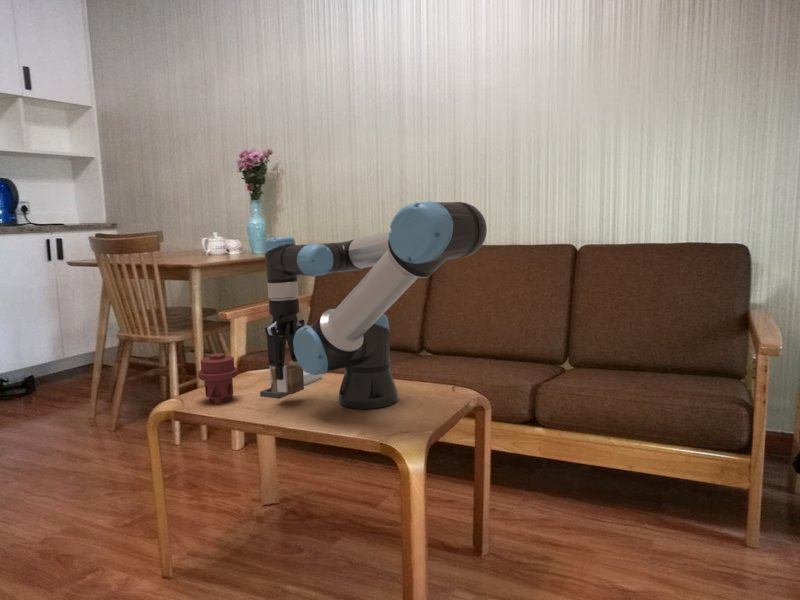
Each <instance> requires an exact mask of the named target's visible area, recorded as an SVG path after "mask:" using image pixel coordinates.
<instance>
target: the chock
mask: <svg viewBox="0 0 800 600" xmlns="http://www.w3.org/2000/svg"><path fill="white" fill-rule="evenodd" d="M284 366H286V368H287V383H288V392H278V390H277V380H276V373H275V368H273V369H272V379H273V392H278V393H287V394H288V395H294V394H296V393H298V392H300V391H303V390H305V386H304V378H303V369H302V368H301V367H300V366H291V365H290V364H284Z"/></svg>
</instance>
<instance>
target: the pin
mask: <svg viewBox="0 0 800 600" xmlns="http://www.w3.org/2000/svg"><path fill="white" fill-rule="evenodd" d="M279 362H280V361H279ZM273 368H275V367H272V366H270V365H269V377H270V379H269V380H270V388H271V392H273V379H272V369H273ZM275 393H278V392H275Z"/></svg>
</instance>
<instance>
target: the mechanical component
mask: <svg viewBox="0 0 800 600" xmlns="http://www.w3.org/2000/svg"><path fill="white" fill-rule="evenodd" d="M238 375H239V370H238V368H237V367H235V357H234V356H233V355H227V354H225V353H222V352H219V353H218V352H217V353H212V354H209V355H208V356H206V357H203V358H202V359H201V360H200V369H199V371H198V372H197V376H198V379H200V380H201V381H204V389H205V390H204V392H205V398H207V399H208V398H209V401H213V402H214V404H215V405H220V404H222V403H224V402H226V401H231V400H233V399H234V397H233V396H234V382H233V378H236V377H237V376H238Z"/></svg>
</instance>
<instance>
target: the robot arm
mask: <svg viewBox="0 0 800 600" xmlns="http://www.w3.org/2000/svg"><path fill="white" fill-rule="evenodd" d="M389 225H390V226H389V228H390V230H387V231H384V232H380V233H376V234H372V235H368V236H367V235H366V236H363V237H359V238H356V239H350V240H347V241H339V242H326V243H308V244H307V243H306V244H296V240H295V238H294V237H292V236H284V237H283V236H282V237H269V238H267V239H265V241H264V258H265V269H266V280H267V281H266V282H267V294H268V297H267V298H268V299H269V300H268V313H269V315H270V316H272V322H271V325H270V326H265V328H264V331H265V334H266V344H267V359H268V361H267V362H268V365H269V367H270V366H272V367H275V373H276V380H277V390H278V392H288V383H287V368H286V366H284V365H285V361H286V360H285V359H286V358H285V356H286V348H287V346H288V350H289V354H290V359H291V361H289V365H291V366H300V367H301V368H302V369H303V370H304V371H305V372H307V373H309V374H311V375H318V374H322V375H325V374H326V373H330V372H333V371H337V370H341V369H344V373H343V377H342V382H341V384H340V387H339V390H338V391H339V392H338V403H339V404H340V405H341V406H343V407H345V408H350V409H356V410H357V409H358V410H359V409H360V410H371V409H379V408H380V409H381V408H386V407H388V406H392V405H394V404H396V403H397V402H398V399H399V397H398V396H399V394H398V389H397V386H396V383H395V381H394V378H393V375H392V372H391V358H390V357H391V355H390V354H391V353H390V351H391V350H390V349H391V348H390V347H391V346H390V331H391V330H390V325H389V319H388V316H387V315H386V314H384V313H386V311H388V309H389V308H391V307H392V306H393V304H394V303H396V302H397V301H398V299H399V298H401V296H402V295H404V294H405V292H406V291H407V290H408V289H409V288H410V287H411V286H412V285H413V284H414V283H415V282H416V281H417V280H418V279H427V278H429V277H431V276H432V275H433V274H434V273H435V272H436V271H437V270H438V269H439V268H440V267H441V266H442V264H444V263H445V262H446V261H448V260H456V259H462V258H467V257H469V256H472V255H474V254H475V253H477V252H478V251H479V250H480V249H481V247H482V246H483V245H484V243H485V240H486V237H487V231H488V230H487V227H488V226H487V221H486V218H485V217H484V215H483V214H482V212H481V211H480V210H479V209H478V208H477V207H476V206H474V205H472V204H470V203H467V202H463V201H462V202H461V201H440V202H439V201H437V202H436V201H431V200H422V201H418V202H412V203H409V204H406V205H405V206H403V207H402V208H400V209H399V210H398V211H397V212H396V214H395V215H394V216H393V218H392V221H391V222H390V224H389ZM364 268H365V269H366V268H370V269H369V271H368V272H367V273H366V274H365V276H363V277H362V279H360V281H359V282H358V283H357V285H355V287H353V289H352V290H350V292H349V293H348V294H347V295H346V296H345V298H344V299H343V300H342V301H341V302H340V304H338V306H337V307H336V308H330V309H327V310H326V311H324V312H323V313H322V314H321V315H320V316H319V317H318V318H317V320H315V322H314V323H312V324H310V325H305V320H304V319H299V318H298V316H297V315H298V314H299V313H300V300H299V299H298V298H297V297H299V283H298V276H303V277H304V276H306V277H307V276H308V277H312V278H313V277H321V276H325V275H326V274H327V275H328V274H335V273H343V272H344V273H345V272H357V271H360V270H363V269H364ZM279 361H280V362H279Z"/></svg>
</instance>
